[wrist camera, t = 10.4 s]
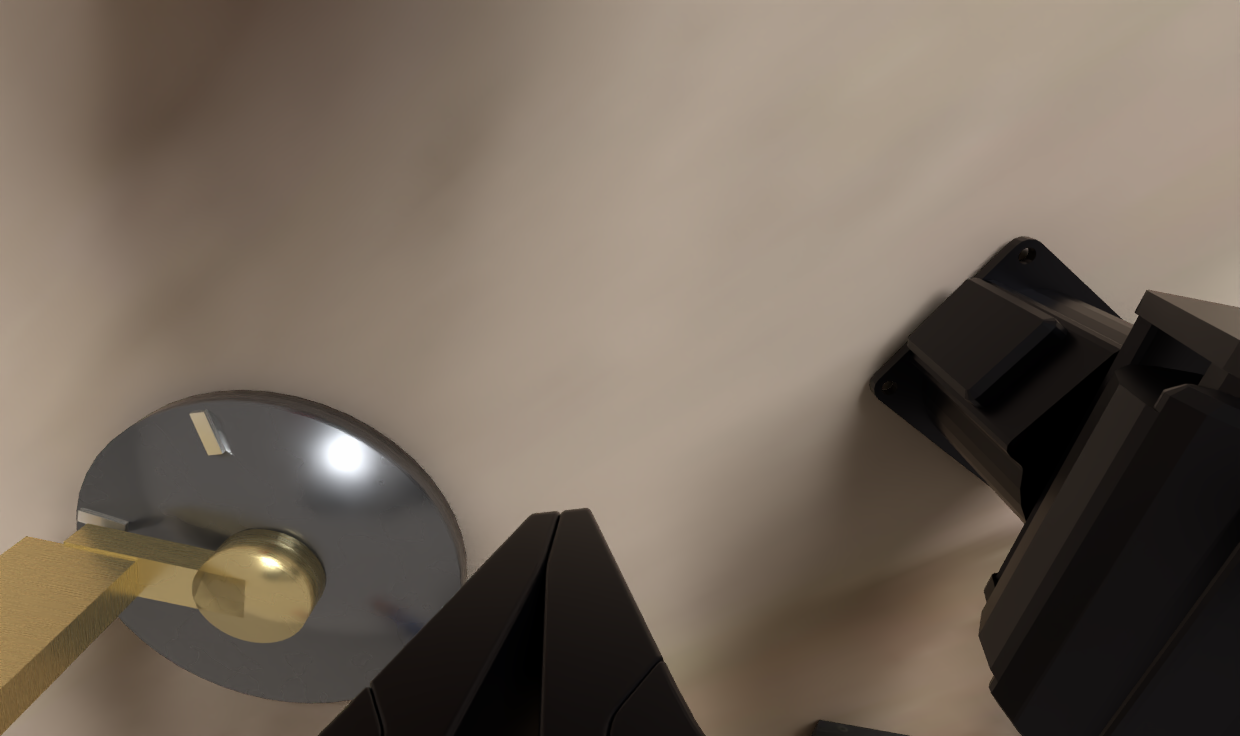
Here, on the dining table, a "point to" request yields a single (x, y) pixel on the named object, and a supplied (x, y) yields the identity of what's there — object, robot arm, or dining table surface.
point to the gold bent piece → (140, 595)
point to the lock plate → (293, 505)
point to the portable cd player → (847, 730)
